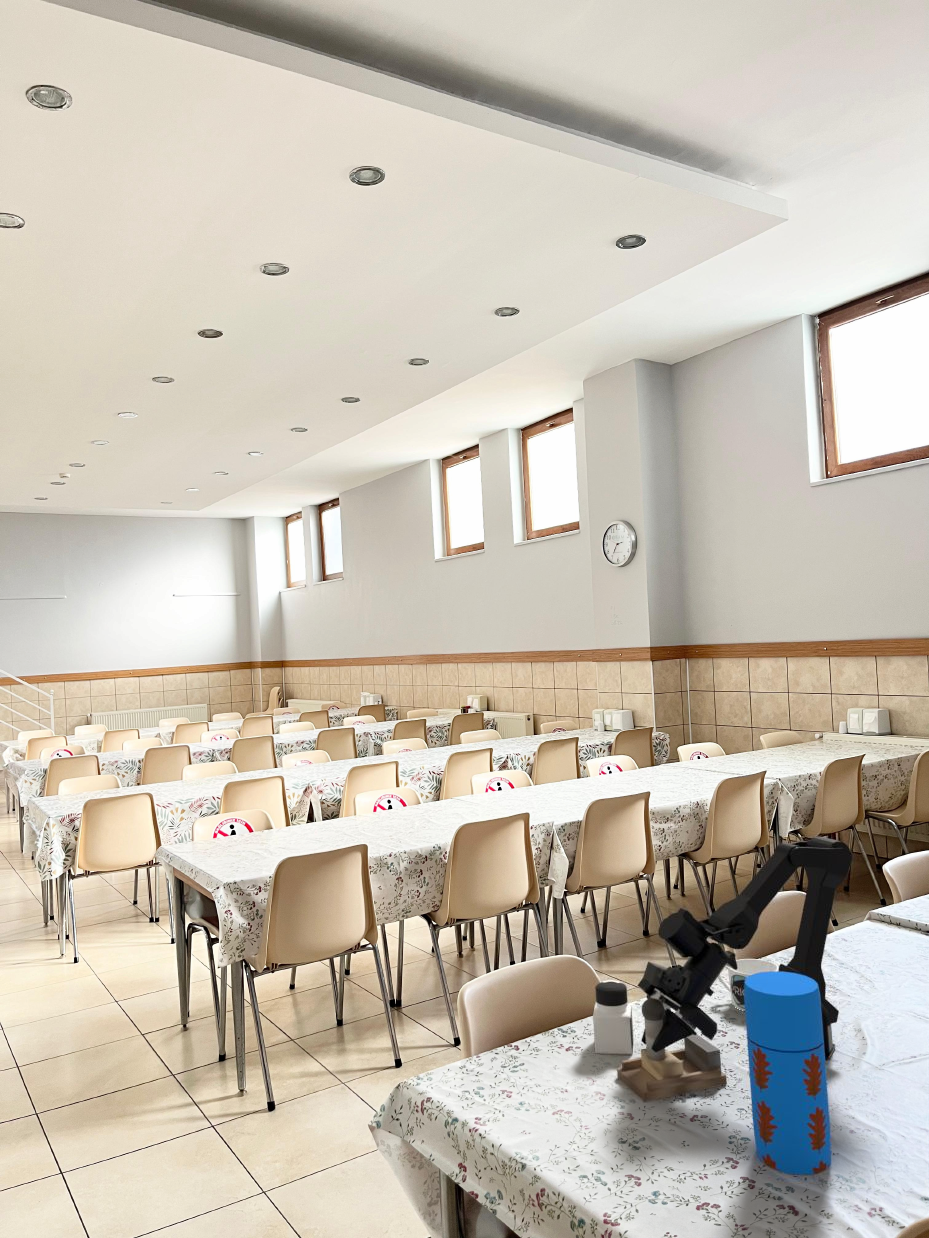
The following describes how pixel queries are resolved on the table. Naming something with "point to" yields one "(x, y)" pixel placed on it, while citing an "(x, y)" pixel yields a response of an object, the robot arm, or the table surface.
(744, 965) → the mug
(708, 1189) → the table surface
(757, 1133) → the thermos
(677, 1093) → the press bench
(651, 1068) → the press handle
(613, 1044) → the medicine bottle
